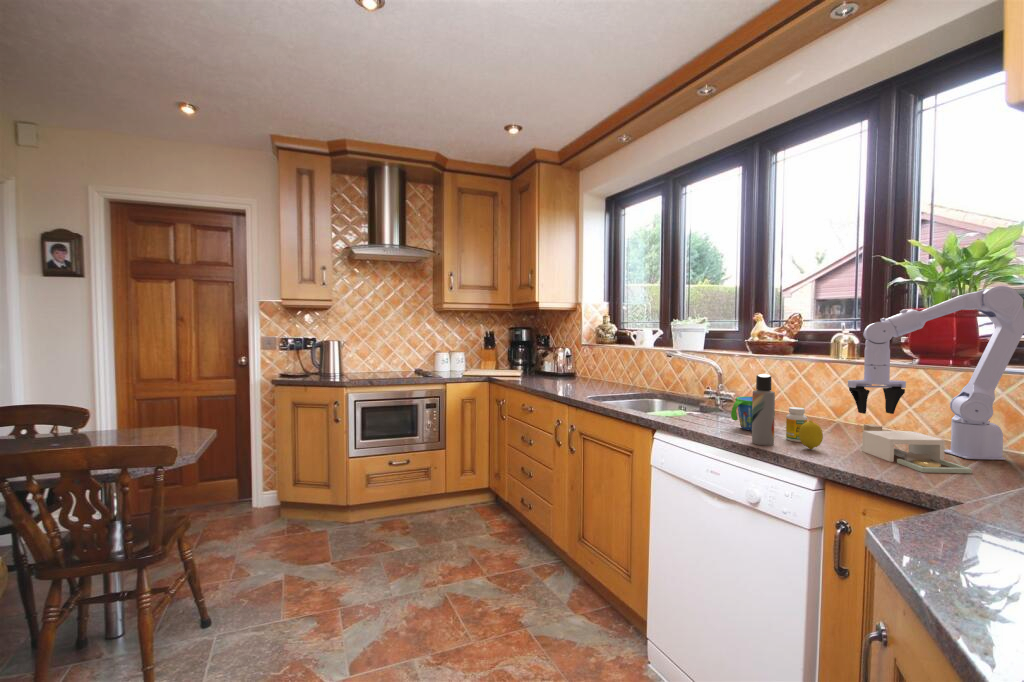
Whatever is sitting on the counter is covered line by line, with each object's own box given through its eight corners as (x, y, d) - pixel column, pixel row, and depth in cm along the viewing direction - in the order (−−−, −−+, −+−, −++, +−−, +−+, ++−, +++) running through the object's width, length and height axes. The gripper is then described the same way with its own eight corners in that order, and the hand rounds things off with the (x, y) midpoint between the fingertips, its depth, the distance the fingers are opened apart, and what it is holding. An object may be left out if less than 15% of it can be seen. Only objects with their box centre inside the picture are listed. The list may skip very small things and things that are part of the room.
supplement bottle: (796, 437, 144) (797, 406, 144) (811, 441, 139) (812, 409, 138) (781, 438, 143) (782, 407, 142) (796, 442, 137) (796, 410, 137)
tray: (942, 463, 116) (942, 459, 116) (971, 473, 109) (971, 469, 109) (897, 462, 117) (897, 458, 117) (922, 472, 109) (922, 468, 109)
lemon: (826, 452, 127) (826, 422, 126) (803, 451, 128) (804, 422, 127) (817, 447, 132) (817, 419, 132) (795, 446, 133) (796, 418, 133)
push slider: (858, 445, 135) (859, 424, 135) (878, 445, 135) (879, 424, 134) (907, 462, 117) (907, 438, 117) (930, 463, 117) (930, 439, 117)
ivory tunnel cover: (912, 452, 127) (912, 431, 127) (944, 462, 117) (944, 440, 117) (862, 451, 128) (862, 430, 128) (889, 461, 118) (889, 439, 118)
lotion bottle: (773, 442, 138) (774, 374, 137) (774, 446, 133) (776, 375, 132) (751, 440, 140) (752, 373, 140) (752, 444, 135) (753, 374, 134)
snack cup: (741, 433, 149) (742, 401, 149) (721, 426, 160) (722, 396, 160) (785, 431, 152) (786, 400, 152) (763, 425, 162) (763, 395, 162)
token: (929, 464, 117) (929, 459, 117) (946, 470, 112) (946, 465, 112) (908, 463, 117) (908, 459, 117) (924, 469, 112) (924, 464, 112)
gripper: (892, 364, 137) (891, 410, 137) (841, 364, 137) (840, 410, 138) (912, 366, 130) (911, 415, 130) (857, 365, 130) (856, 414, 131)
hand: (875, 413), depth 133 cm, fingers open, 7 cm apart
